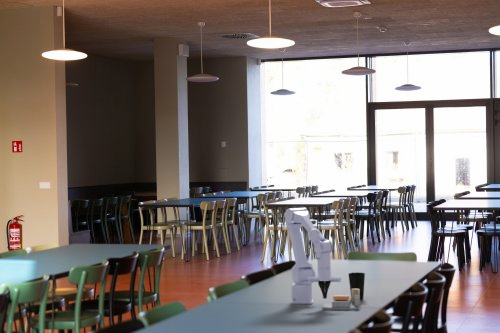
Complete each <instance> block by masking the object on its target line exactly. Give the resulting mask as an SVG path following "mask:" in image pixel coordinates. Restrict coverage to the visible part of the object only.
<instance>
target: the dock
mask: <svg viewBox="0 0 500 333" xmlns="http://www.w3.org/2000/svg"><path fill="white" fill-rule="evenodd" d="M360 309H361V300H360V296H355V304H352V302H351V298H349V300H333V299H332V300H331V303H324V304H323V306H322V311H323V310H324V311H359V310H360Z"/></svg>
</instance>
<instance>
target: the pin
mask: <svg viewBox="0 0 500 333" xmlns="http://www.w3.org/2000/svg"><path fill="white" fill-rule="evenodd" d="M349 299H350V295H333V296H332V301H333V300H349Z"/></svg>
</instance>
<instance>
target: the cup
mask: <svg viewBox="0 0 500 333" xmlns="http://www.w3.org/2000/svg"><path fill="white" fill-rule="evenodd" d="M365 275H366V273H364V272H349V273H348V282H349V290H350V291H349V292H350V297H351V298H350V300H352V289H360V301H363V300H364V298H365V296H364V294H365Z"/></svg>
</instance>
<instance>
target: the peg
mask: <svg viewBox="0 0 500 333" xmlns="http://www.w3.org/2000/svg"><path fill="white" fill-rule="evenodd" d="M355 296H360V289H352V299H351V304H355Z"/></svg>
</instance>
